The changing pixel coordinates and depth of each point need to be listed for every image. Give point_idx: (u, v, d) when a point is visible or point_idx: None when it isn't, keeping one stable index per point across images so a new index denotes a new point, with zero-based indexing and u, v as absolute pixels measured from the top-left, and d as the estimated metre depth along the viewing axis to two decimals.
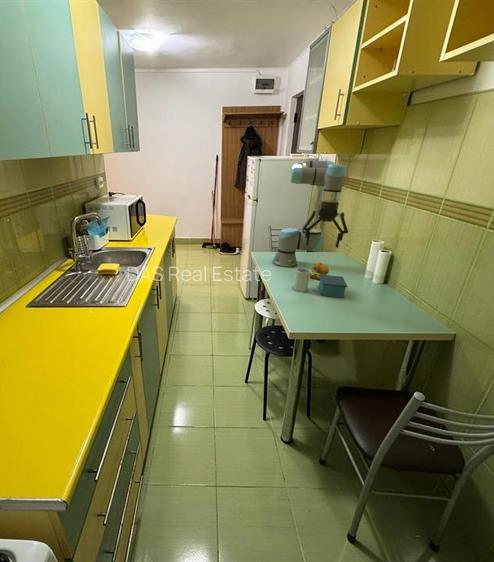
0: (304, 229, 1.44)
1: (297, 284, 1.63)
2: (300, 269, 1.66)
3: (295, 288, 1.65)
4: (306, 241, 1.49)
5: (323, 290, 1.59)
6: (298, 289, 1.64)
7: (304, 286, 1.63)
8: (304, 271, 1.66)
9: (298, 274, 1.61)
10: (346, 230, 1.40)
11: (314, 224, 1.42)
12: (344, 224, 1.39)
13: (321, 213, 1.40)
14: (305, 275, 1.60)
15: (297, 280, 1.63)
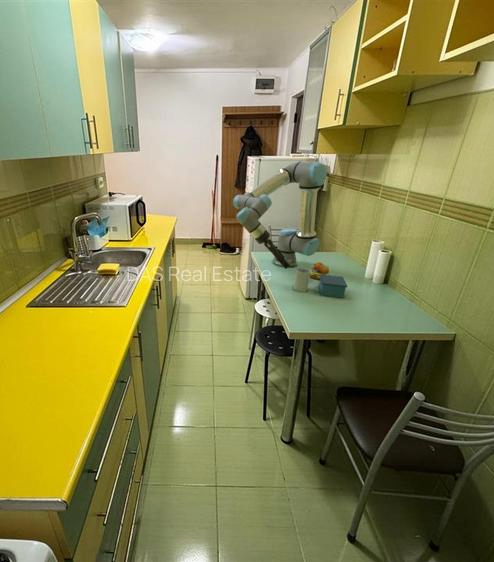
0: None
1: (297, 284, 1.63)
2: (300, 269, 1.66)
3: (295, 288, 1.65)
4: (283, 255, 1.67)
5: (323, 290, 1.59)
6: (298, 289, 1.64)
7: (304, 286, 1.63)
8: (304, 271, 1.66)
9: (298, 274, 1.61)
10: (276, 258, 1.51)
11: None
12: (272, 253, 1.52)
13: None
14: (305, 275, 1.60)
15: (297, 280, 1.63)
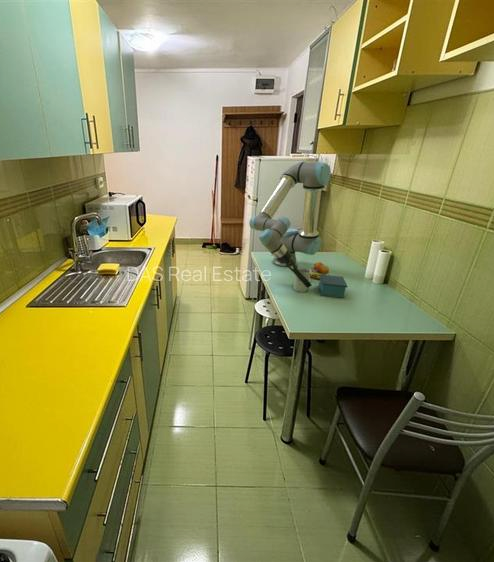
0: None
1: (297, 284, 1.63)
2: (300, 269, 1.66)
3: (295, 288, 1.65)
4: None
5: (323, 290, 1.59)
6: (298, 289, 1.64)
7: (304, 286, 1.63)
8: (304, 271, 1.66)
9: None
10: (299, 278, 1.58)
11: None
12: (295, 274, 1.57)
13: None
14: (305, 275, 1.60)
15: (297, 280, 1.63)
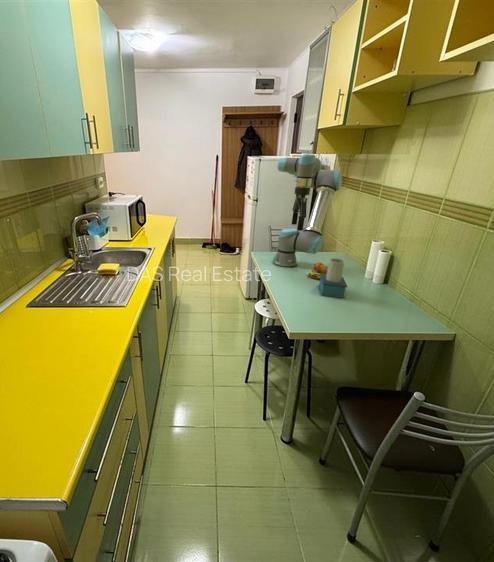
0: None
1: (331, 275, 1.58)
2: (333, 259, 1.61)
3: (328, 279, 1.60)
4: None
5: (323, 290, 1.59)
6: (332, 280, 1.59)
7: (338, 277, 1.57)
8: (337, 261, 1.61)
9: (332, 264, 1.56)
10: (301, 214, 1.53)
11: (295, 206, 1.65)
12: (301, 208, 1.53)
13: (297, 197, 1.61)
14: (340, 266, 1.55)
15: (331, 271, 1.57)
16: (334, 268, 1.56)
